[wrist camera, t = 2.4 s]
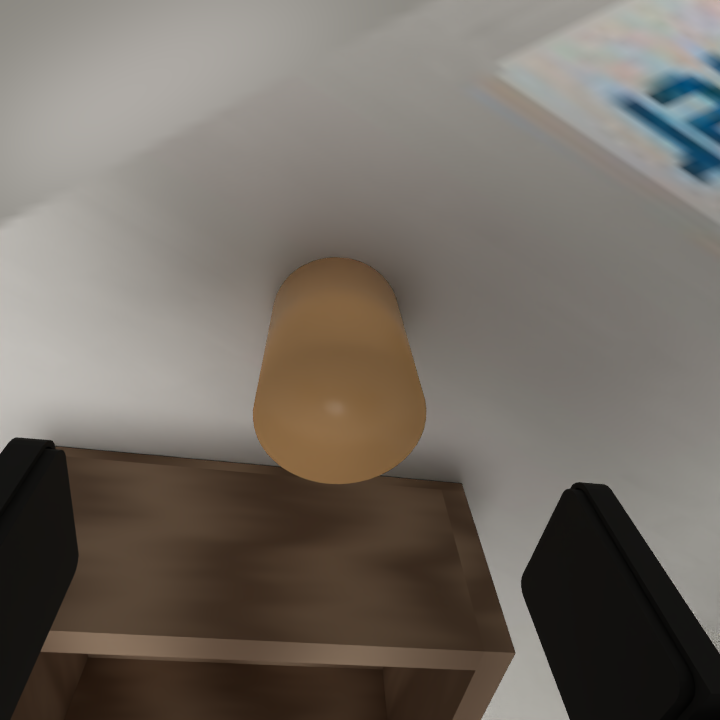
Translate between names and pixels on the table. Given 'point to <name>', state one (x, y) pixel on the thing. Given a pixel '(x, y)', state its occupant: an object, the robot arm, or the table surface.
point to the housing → (267, 598)
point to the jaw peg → (338, 376)
